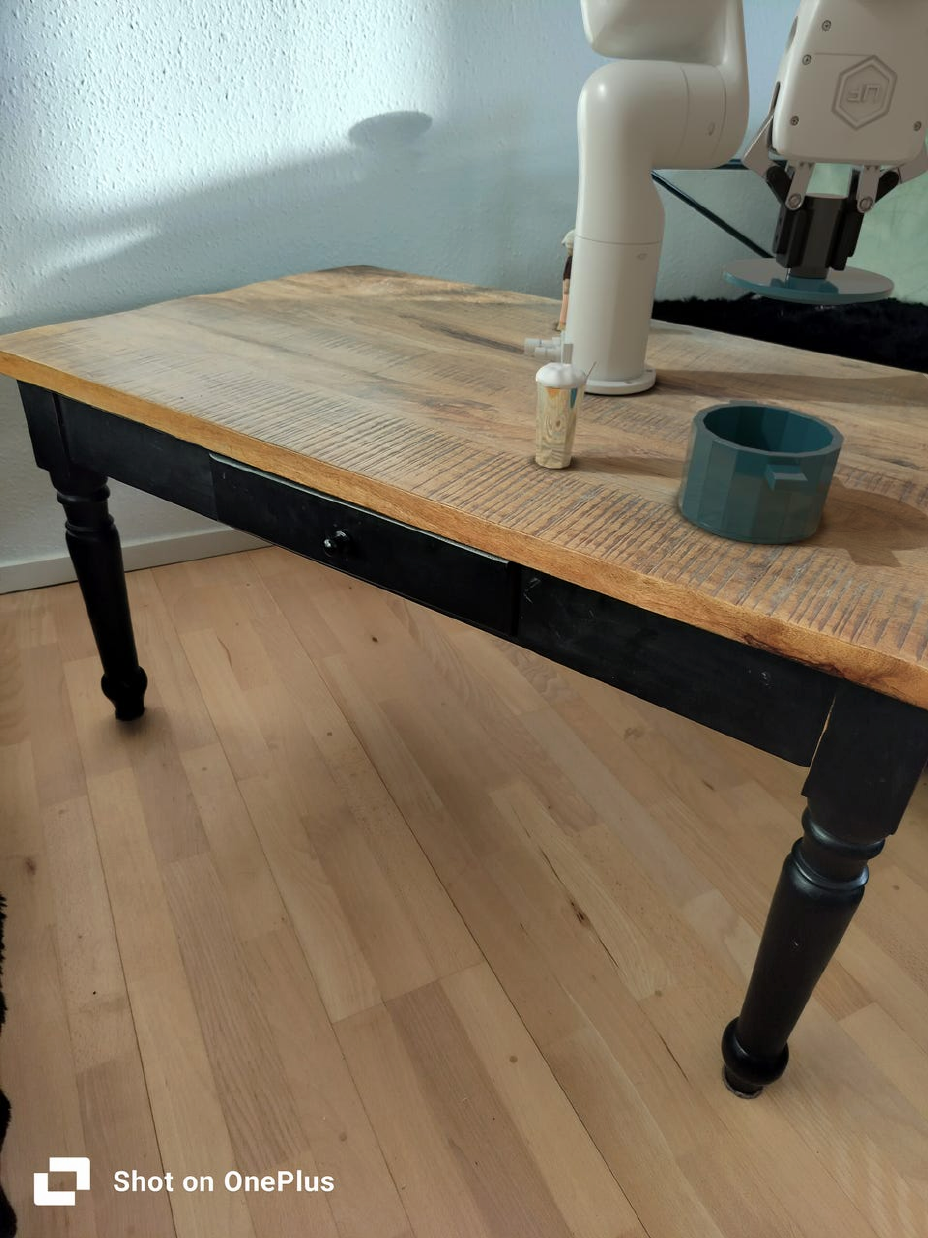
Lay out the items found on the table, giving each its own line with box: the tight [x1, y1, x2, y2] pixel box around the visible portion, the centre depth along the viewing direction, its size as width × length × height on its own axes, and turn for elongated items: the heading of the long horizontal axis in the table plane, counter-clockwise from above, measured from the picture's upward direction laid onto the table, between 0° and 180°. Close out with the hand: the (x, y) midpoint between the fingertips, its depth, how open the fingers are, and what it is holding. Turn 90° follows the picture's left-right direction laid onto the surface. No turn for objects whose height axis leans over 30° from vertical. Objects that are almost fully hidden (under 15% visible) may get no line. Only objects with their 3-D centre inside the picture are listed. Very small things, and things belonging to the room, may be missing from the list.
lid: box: [721, 192, 895, 306], centre depth 65 cm, size 13×13×7 cm
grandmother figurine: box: [556, 228, 575, 332], centre depth 117 cm, size 8×4×13 cm, turn 179°
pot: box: [677, 399, 845, 545], centre depth 72 cm, size 12×17×8 cm
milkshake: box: [535, 362, 596, 470], centre depth 78 cm, size 4×5×10 cm
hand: (809, 263), depth 66 cm, fingers closed on lid, 3 cm apart
